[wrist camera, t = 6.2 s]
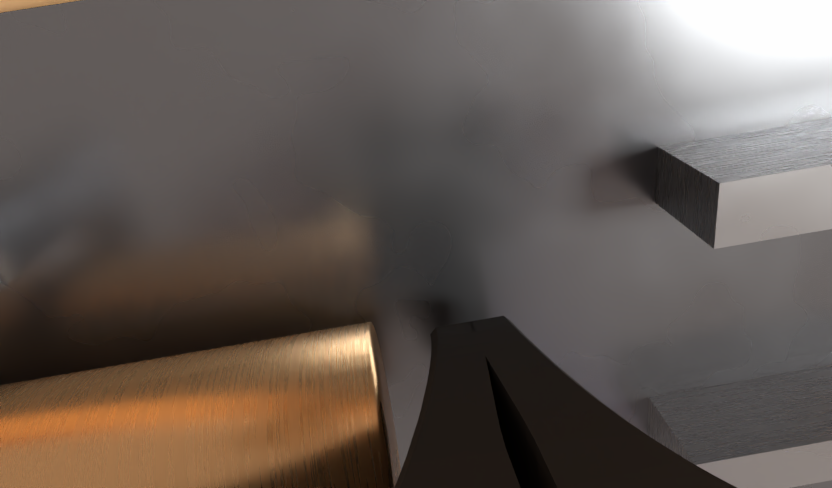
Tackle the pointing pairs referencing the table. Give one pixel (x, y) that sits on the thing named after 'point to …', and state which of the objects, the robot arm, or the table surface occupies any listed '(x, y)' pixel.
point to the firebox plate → (439, 197)
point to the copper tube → (210, 419)
